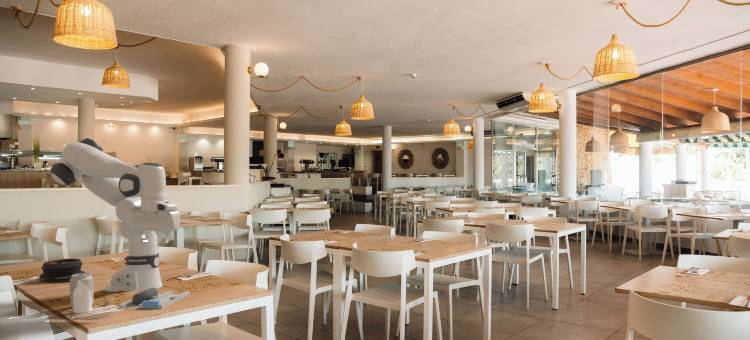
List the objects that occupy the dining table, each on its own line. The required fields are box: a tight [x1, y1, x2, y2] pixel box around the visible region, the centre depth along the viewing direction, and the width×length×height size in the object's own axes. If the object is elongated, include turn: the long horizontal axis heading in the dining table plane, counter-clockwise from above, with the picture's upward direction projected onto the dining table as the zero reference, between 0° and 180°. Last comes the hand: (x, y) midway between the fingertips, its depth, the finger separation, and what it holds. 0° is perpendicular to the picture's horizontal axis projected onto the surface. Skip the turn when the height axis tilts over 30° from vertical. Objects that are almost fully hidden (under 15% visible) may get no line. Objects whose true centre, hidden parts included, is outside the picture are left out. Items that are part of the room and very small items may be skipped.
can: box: [69, 272, 95, 309], centre depth 188 cm, size 8×8×12 cm
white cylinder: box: [72, 280, 93, 314], centre depth 178 cm, size 6×12×6 cm
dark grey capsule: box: [131, 288, 159, 305], centre depth 189 cm, size 10×4×4 cm, turn 173°
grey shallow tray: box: [118, 290, 191, 310], centre depth 190 cm, size 16×20×3 cm
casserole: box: [38, 258, 86, 282], centre depth 243 cm, size 25×19×8 cm
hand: (155, 242), depth 192 cm, fingers open, 8 cm apart
